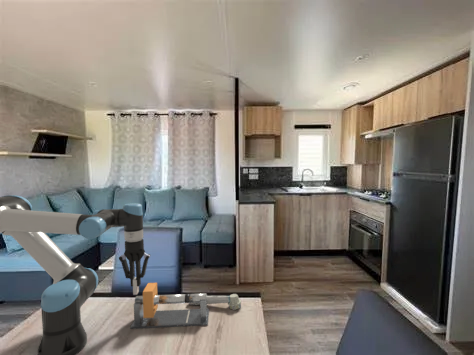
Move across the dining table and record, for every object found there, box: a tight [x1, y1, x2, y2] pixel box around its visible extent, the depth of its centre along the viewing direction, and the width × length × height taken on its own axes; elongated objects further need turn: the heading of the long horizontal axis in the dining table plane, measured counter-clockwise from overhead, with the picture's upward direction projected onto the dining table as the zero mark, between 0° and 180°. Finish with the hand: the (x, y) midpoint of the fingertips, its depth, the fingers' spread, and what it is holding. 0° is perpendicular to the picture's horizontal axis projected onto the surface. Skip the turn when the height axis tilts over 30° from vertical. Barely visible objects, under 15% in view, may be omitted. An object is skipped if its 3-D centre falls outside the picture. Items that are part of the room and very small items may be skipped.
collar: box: [142, 282, 159, 318], centre depth 111 cm, size 4×8×11 cm, turn 3°
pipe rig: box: [129, 292, 210, 330], centre depth 111 cm, size 32×11×11 cm, turn 93°
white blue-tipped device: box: [188, 293, 242, 311], centre depth 122 cm, size 5×7×25 cm
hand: (136, 293), depth 110 cm, fingers closed
